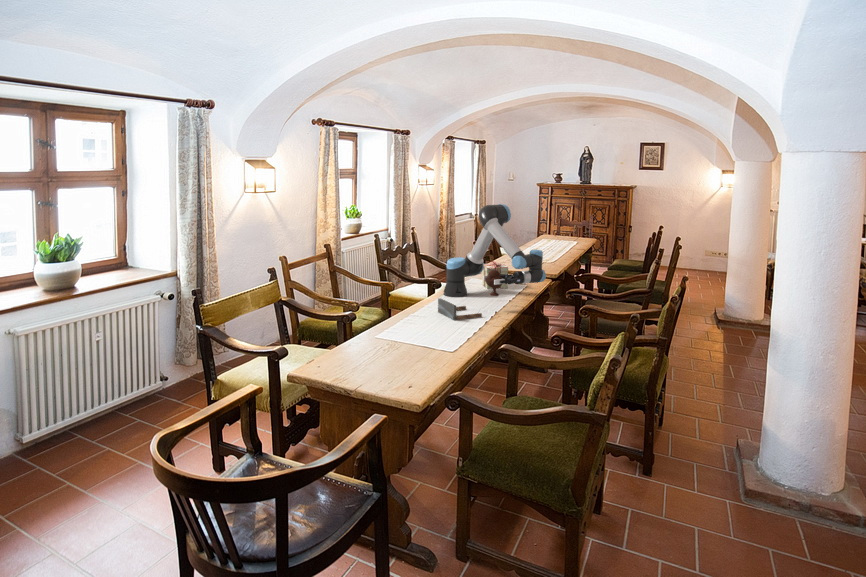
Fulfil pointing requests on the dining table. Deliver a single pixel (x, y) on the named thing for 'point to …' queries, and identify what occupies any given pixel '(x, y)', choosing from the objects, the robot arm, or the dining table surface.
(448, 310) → the frame
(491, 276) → the ice cream bowl
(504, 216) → the robot arm
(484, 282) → the gift box
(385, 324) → the dining table surface
